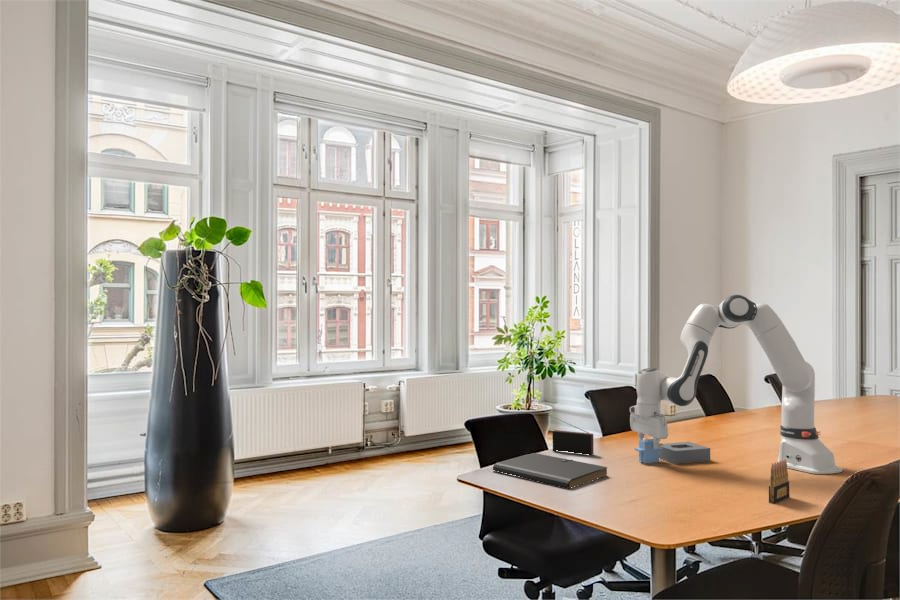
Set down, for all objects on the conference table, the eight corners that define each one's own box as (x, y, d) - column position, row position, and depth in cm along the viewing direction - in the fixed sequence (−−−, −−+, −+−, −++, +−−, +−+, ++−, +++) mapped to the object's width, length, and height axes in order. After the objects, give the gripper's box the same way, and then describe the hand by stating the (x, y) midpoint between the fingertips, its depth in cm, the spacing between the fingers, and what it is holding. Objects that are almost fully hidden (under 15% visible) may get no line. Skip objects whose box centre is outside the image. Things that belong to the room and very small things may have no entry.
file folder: (607, 466, 235) (567, 479, 218) (608, 477, 235) (567, 492, 218) (534, 451, 259) (492, 463, 242) (534, 462, 259) (492, 474, 242)
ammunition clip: (783, 496, 210) (783, 458, 210) (789, 497, 208) (789, 459, 208) (768, 502, 203) (768, 463, 203) (774, 504, 201) (774, 464, 201)
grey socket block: (710, 461, 257) (710, 448, 257) (674, 464, 252) (674, 451, 252) (688, 454, 269) (688, 441, 269) (654, 456, 265) (654, 444, 265)
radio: (593, 454, 270) (593, 417, 270) (591, 456, 267) (591, 418, 267) (550, 449, 279) (550, 414, 279) (548, 451, 276) (547, 415, 277)
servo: (667, 461, 256) (667, 438, 256) (640, 464, 253) (640, 440, 253) (661, 459, 260) (660, 436, 260) (634, 461, 257) (634, 438, 257)
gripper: (672, 414, 247) (672, 451, 247) (640, 406, 267) (641, 440, 267) (657, 415, 246) (657, 452, 245) (627, 407, 265) (627, 441, 265)
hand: (648, 446), depth 256 cm, fingers open, 7 cm apart
